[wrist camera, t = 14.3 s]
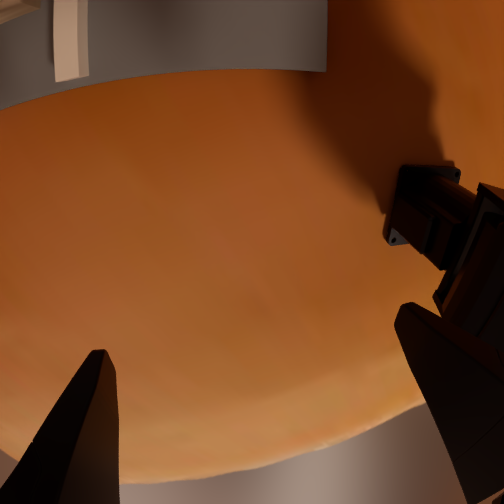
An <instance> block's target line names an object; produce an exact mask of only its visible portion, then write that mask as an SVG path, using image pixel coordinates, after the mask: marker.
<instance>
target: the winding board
mask: <svg viewBox="0 0 504 504" xmlns="http://www.w3.org/2000/svg"><path fill="white" fill-rule="evenodd" d="M327 13H328V0H41V4H40V9H38V10H35V11H33V12H30V13H27V14H24V15H22V16H19V17H17V18H14V19H12V20H9V21H7V22H4V23H2V24H0V110H2V109H5V108H8V107H10V106H13V105H16V104H20V103H23V102H26V101H29V100H32V99H36V98H39V97H43V96H46V95H50V94H54V93H58V92H62V91H66V90H70V89H74V88H78V87H83V86H87V85H92V84H97V83H102V82H108V81H113V80H119V79H125V78H132V77H139V76H146V75H154V74H163V73H172V72H183V71H197V70H215V69H284V70H302V71H316V72H326V66H327Z"/></svg>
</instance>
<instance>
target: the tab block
mask: <svg viewBox="0 0 504 504" xmlns="http://www.w3.org/2000/svg"><path fill="white" fill-rule="evenodd" d="M40 4H41V0H0V24H2V23H4V22H7V21H9V20H12V19H14V18H17V17H19V16H22V15H24V14H27V13H30V12H33V11H35V10H38V9H40Z"/></svg>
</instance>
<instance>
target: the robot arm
mask: <svg viewBox="0 0 504 504" xmlns="http://www.w3.org/2000/svg"><path fill="white" fill-rule="evenodd" d="M406 171H407V173H406V174H405V172H406ZM460 175H461V171H460V169H458V168H456V167H446V166H429V165H403V166H402V167H401V168H400V171H399V177H398V183H397V188H396V194H395V199H394V204H393V209H392V214H391V219H390V223H389V228H388V232H387V237H386V242H387V243H388V244H389V245H390V246H395V245H403V244H410V245H411V246H412V247H413V248H415V249H416V250H417V251H418V252H419V253H420V254H423V255H424V256H425V257H426V258H427V259H428V260H429V261H431V262H432V263H433V264H434V265H435V266H436V267H437V268H438V269H439V270H440V271H441V270H445V271H446V272H445V274H444V276H443V278H442V281H441V283H440V285H439V287H438V289H437V290H435V292H434V294H433V296H432V298H433V300H434V302H435V304H436V306H437V308H438V310H439V313H440V315H441V317H442V318H441V317H439V316H438V315H436V314H434V313H432V312H430V311H429V310H427V309H425V308H423V307H421V306H419V305H418V304H416V303H414V302H409V303H405V304H402V305H401V306H400V309H399V311H398V314H397V317H396V319H395V322H394V328H395V331H396V333H397V336H398V339H399V341H400V344H401V346H402V349H403V351H404V354H405V357H406V359H407V362H408V364H409V367H410V369H411V371H412V373H413V375H414V377H415V379H416V382H417V384H418V386H419V388H420V390H421V392H422V394H423V396H424V398H425V401H426V403H427V405H428V407H429V409H430V411H431V414H432V416H433V418H434V421H435V423H436V425H437V427H438V430H439V432H440V434H441V436H442V439H443V441H444V444H445V446H446V449H447V451H448V453H449V456H450V458H451V461H452V464H453V466H454V469H455V471H456V474H457V477H458V479H459V482H460V485H461V487H462V490H463V493H464V496H465V499H466V501H467V504H477V503H479V502H481V501H483V500H485V499H486V498H488V497H490V496H492V495H493V494H495V493H497V492H498V491H500V490H502V489H503V488H504V189H501V188H498V187H494V186H491V185H488V184H484V183H481V182H479V185H478V188H477V191H478V192H477V195H475V194H474V193H472V192H470V191H469V190H467V189H466V188H464V187H462V186H461V185H459V180H460ZM0 504H120V497H119V414H118V401H117V385H116V371H115V367H114V365H113V363H112V361H111V359H110V357H109V354H108V352H107V351H106V350H105V349H99V350H92V351H91V352H90V353H89V355H88V356H87V358H86V359H85V361H84V362H83V363H82V365H81V366H80V368H79V369H78V371H77V372H76V374H75V375H74V377H73V378H72V380H71V381H70V382H69V384H68V385H67V387H66V388H65V390H64V391H63V393H62V394H61V396H60V397H59V399H58V401H57V402H56V404H55V405H54V407H53V408H52V410H51V411H50V413H49V414H48V416H47V418H46V419H45V421H44V422H43V424H42V426H41V427H40V429H39V430H38V432H37V434H36V435H35V437H34V439H33V442H31V443H30V445H29V447H28V448H27V450H26V452H25V453H24V455H23V456H22V458H21V460H20V461H19V463H18V465H17V466H16V467H15V469H14V470H13V472H12V473H11V474H10V476H9V477H8V479H7V480H6V481H5V483H4V484H3V486H2V487H1V488H0ZM492 504H504V492H503V493H502V494H500V495H499V496H498V497H497V498H495V499H494V500H493V501H492Z"/></svg>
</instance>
